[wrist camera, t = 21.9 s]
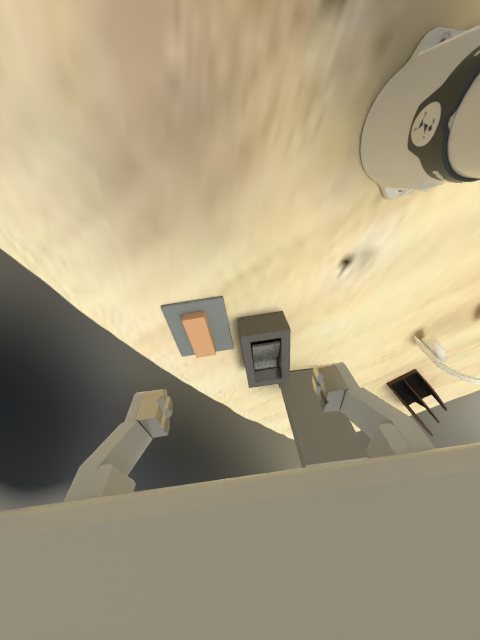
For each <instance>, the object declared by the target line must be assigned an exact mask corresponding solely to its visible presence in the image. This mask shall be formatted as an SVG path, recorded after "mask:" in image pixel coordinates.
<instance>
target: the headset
mask: <svg viewBox="0 0 480 640" xmlns="http://www.w3.org/2000/svg"><path fill="white" fill-rule="evenodd" d="M413 337H414V340H415V342H416V344H417V345H418V347H419V348H420V349H421V350H422V351H423V352H424V353H425V354H426V355H427V356H428V358H429V359H430V360H431V361H432V362H433V363H434V364H435V365H436V366H437V367H439V368H441V369H443V370H444V371H446V372H448V373H449V374H451V375H453V376H455V377H457V378H459V379H462V380H464V381H467V382H470V383H475V384H480V378H474V377H470V376H466V375H464V374H461V373H459V372H457V371H455V370H453V369H451V368H449V367H447V366H446V365H444V364H442V363H441V362H443V361H445V360H446V359H447V353H446V351H445V349H444V347H443V346H442V345H441V343H440V342H439V341H438V340H436V339H435V338H434V337H432V336H425V337H423V338H422V342H421V341H420V340H419V339H418V338H417V337H416V336H415V335H413Z"/></svg>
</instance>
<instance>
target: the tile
mask: <svg viewBox="0 0 480 640" xmlns="http://www.w3.org/2000/svg"><path fill="white" fill-rule="evenodd" d="M182 322H183V325H184V327H185V330H186V332H187V335H188V337H189V340H190V342H191V345H192V347H193V350H194V352H195V355H196V357H197V358H198V357H204V356H210V355H216V346H215V343H214V339H213V336H212V333H211V330H210V326H209V323H208V320H207V317H206V313H205V311H200V312H194V313H188V314H183V318H182Z"/></svg>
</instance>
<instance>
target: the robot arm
mask: <svg viewBox="0 0 480 640" xmlns="http://www.w3.org/2000/svg"><path fill="white" fill-rule="evenodd" d="M440 41H441V43H440ZM360 153H361V161H362V165H363V168H364V170H365V172H366V174H367V175H368V176H369V177H370V178H371V179H372V180H373V181H374V182H376V183H377V184H378V185H379V186H380V189H381V191H382V194H383V196H384V198H385V199H390V200H392V199H396V198H398V197H401V196H404V195H407V194H409V193H412V192H415V191H421V192H423V191H428V190H429V189H430V188H432V187H435V186H438V185H441V184H443V183H445V182H454V183H462V182H473V181H477V180H480V25H478V26H475V27H473V28H471V29H469V30H467V31H463V30H457V29H451V28H445V27H438V28H435V29H433V30H431V31H429V32H428V33H427V34H426V35H425V36H424V38H423V39H422V40H421V42H420V43H419V45H418V46H417V48H416V50H415V51H414V53H413V55H412V56H411V58H410V60H409V61H408V62H407V63H406V64H405V65H404V66H403V68H401V69H400V70H399V71H398V72H397V73H396V74H395V75H394V76H393V77H392V78H391V79H390V80H389V82H388V83H387V84H386V85H385V86H384V88H383V89H382V90H381V92H380V93H379V95H378V96H377V98H376V100H375V101H374V103H373V105H372V107H371V109H370V111H369V113H368V116H367V118H366V121H365V124H364V128H363V132H362V137H361V146H360ZM398 190H399V191H398ZM313 372H314V375H313V376H312V383H313V387H314V390H315V393H316V394H317V395H319V396H320V397H319V402H320V404H321V407H322V409H323V411H324V412H331V411H339V410H340V412H342V413H343V414H344V415H345V416H346V417H347V418H348V419H349V420H351V421H352V422H353V423H354V424H355V425H356V426H357V427H359V428H360V429H361V430H362V431H363V432H364V433H365V434H367V435H368V436H369V437H370V438H371V439H372V441H371V443H370V444H369V446H368V448H367V452H368V454H369V456H370V459H362V460H355V461H348V462H341V463H334V464H327V465H320V466H313V467H306V468H299V469H293V470H285V471H278V472H272V473H264V474H257V475H251V476H243V477H236V478H229V479H222V480H216V481H208V482H202V483H194V484H188V485H181V486H174V487H167V488H160V489H153V490H147V491H139V492H133V491H134V487H135V482H134V481H133V480H132V479H130V478H129V477H128V476H127V475H128V474H129V473H130V471H131V470H132V468H133V467H134V465H135V464H136V462H137V461H138V459H139V458H140V456H141V455H142V453H143V452H144V450H145V449H146V447H147V446H148V445H149V443H150V442H151V440H152V438H154V437H160V436H166V435H168V432H169V426H170V421H169V420H168V419H169V417H170V416H171V415H172V410H173V405H172V400H171V398H170V397H168V396H167V391H166V390H165V389H163V390H155V391H147V392H140V393H136V394H135V395H134V397H133V400H132V403H131V406H130V408H129V411H128V414H127V417H126V419H125V422H124V423H121V424H120V425H119V426H118V428H117V429H115V431H114V432H113V433H112V434H111V435H110V436H109V437H108V438H107V439H106V440H105V441H104V442H103V443H102V444H101V445H100V446H99V447H98V449H96V450H95V452H94V453H93V454H92V455H91V456H90V457H89V458H88V459H87V460H86V461H85V462H84V463H83V464H82V465H81V466H80V467H79V470H78V472H77V474H76V476H75V479H74V480H73V483H72V485H71V487H70V489H69V491H68V493H67V496H66V498H65V500H64V502H62V503H56V504H48V505H41V506H34V507H28V508H21V509H15V510H7V511H0V640H480V443H474V444H467V445H460V446H453V447H447V448H439V449H435V447H434V446H433V445H432V443H431V442H430V441H429V440H428V438H427V437H426V436H425V435H424V433H423V432H422V430H421V429H420V428H419V427H418V425H417V424H416V422H415V421H414V420H413V419H412V418H411V417H409V416H407V415H406V414H404V413H403V412H401V411H399V410H398V409H396V408H395V407H393V406H391V405H390V404H388V403H387V402H385V401H383V400H382V399H380V398H379V397H377V396H376V395H374V394H372V393H371V392H369V391H368V390H366V389H364V388H360V387H359V386H358V384H357V382H356V381H355V379H354V378H353V376H352V375H351V373H350V371H349V370H348V368H347V367H346V365H345V364H344V363H343V362H341V363H334V364H326V365H320V366H315V367H314V368H313Z"/></svg>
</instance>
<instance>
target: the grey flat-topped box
mask: <svg viewBox="0 0 480 640" xmlns="http://www.w3.org/2000/svg"><path fill="white" fill-rule="evenodd" d="M313 375H314V372H313V369H308V370H300V371H292V372H290V377H289V382H285V383H279V388H281V392H282V395H283V399H284V403H285V406H286V410H287V414H288V417H289V421H290V425H291V428H292V432H293V436H294V439H295V443H296V447H297V450H298V454H299V458H300V461H301V465H302V468H306V467H313V466H320V465H327V464H334V463H341V462H348V461H355V460H362V459H367V458H368V456H367V454H366V452H365V450H364V448H363V446H362V444H361V442H360V440H359V438H358V436H357V434H356V432H355V430H354V428H353V426H352V424H351V422H350V420H349V419H348V418H347V417H346V416H345V415H344V414H343V413H342V412H340V410H339V411H331V412H324V411H323V409H322V407H321V404H320V402H319V397H320V396H319V395H317V394H316V393H315V390H314V387H313V383H312V376H313Z"/></svg>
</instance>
